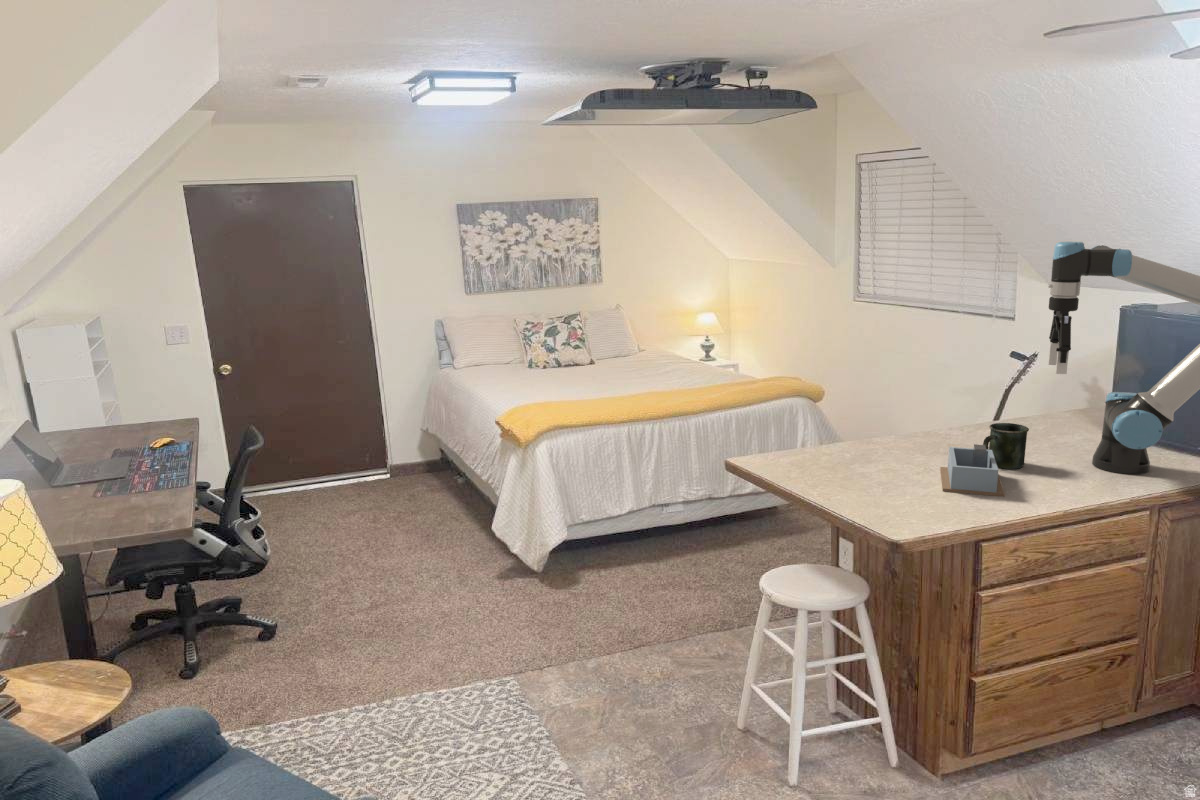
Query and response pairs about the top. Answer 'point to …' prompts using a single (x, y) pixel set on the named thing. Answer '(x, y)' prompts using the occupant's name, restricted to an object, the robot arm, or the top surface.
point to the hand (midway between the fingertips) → (1057, 369)
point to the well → (970, 474)
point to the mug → (1007, 444)
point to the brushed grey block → (979, 456)
